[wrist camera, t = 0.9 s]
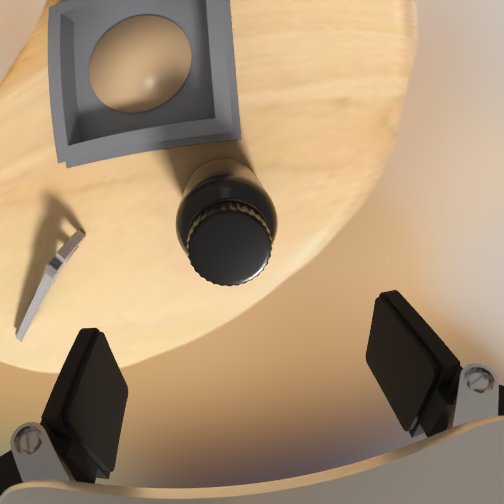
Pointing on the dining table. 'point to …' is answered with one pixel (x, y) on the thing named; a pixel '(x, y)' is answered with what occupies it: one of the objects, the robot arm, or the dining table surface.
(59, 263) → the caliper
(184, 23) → the housing
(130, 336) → the dining table surface
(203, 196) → the supplement bottle
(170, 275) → the dining table surface
